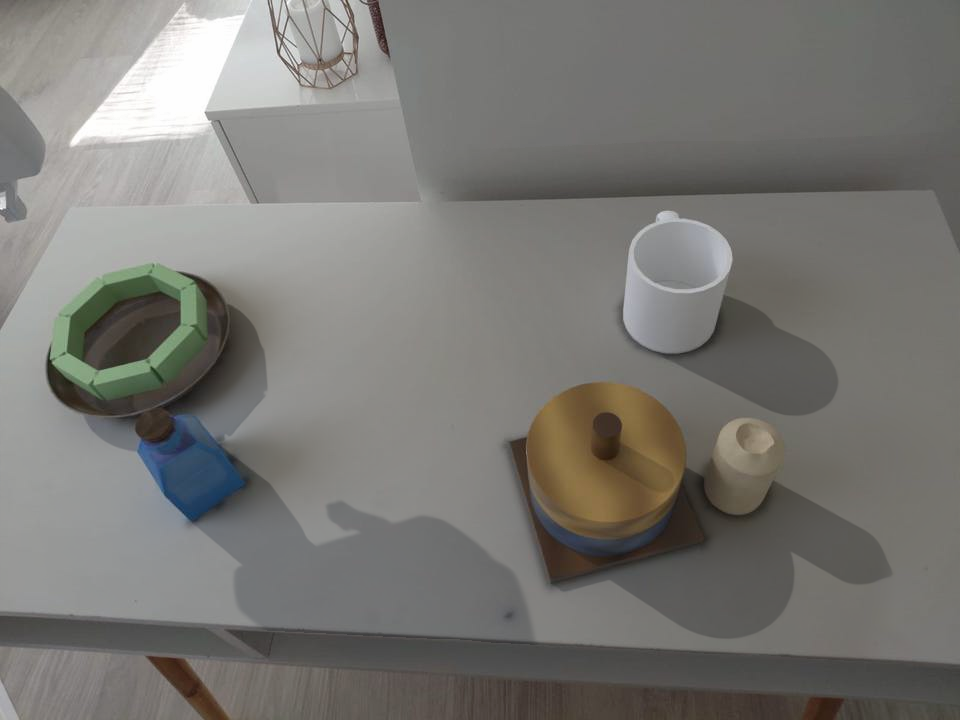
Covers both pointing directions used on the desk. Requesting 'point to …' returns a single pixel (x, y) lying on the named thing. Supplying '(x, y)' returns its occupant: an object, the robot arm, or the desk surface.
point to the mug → (675, 283)
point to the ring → (139, 373)
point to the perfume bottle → (185, 461)
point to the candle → (743, 465)
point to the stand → (604, 479)
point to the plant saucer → (141, 351)
